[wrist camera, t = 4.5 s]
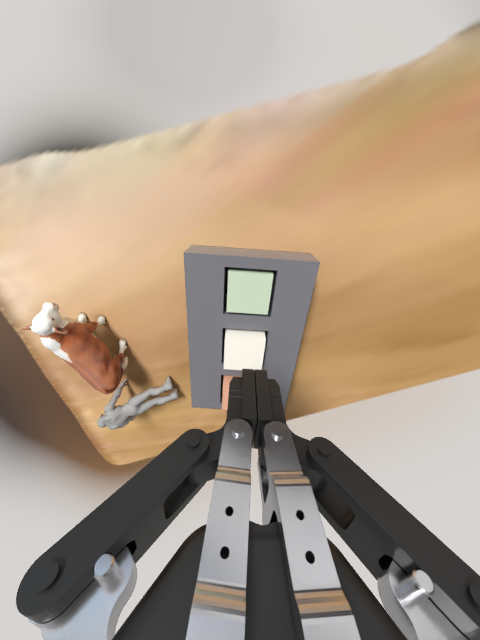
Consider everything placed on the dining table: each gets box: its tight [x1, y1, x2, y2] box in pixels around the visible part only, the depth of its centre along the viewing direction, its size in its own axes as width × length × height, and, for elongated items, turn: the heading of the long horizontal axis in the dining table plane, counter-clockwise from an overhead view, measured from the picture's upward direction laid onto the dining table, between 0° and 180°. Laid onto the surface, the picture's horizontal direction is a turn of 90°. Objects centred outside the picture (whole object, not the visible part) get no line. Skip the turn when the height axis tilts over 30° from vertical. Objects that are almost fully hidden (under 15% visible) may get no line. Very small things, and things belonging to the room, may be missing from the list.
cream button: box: [224, 328, 266, 370], centre depth 29 cm, size 5×5×3 cm
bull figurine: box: [22, 302, 128, 394], centre depth 29 cm, size 4×13×8 cm, turn 19°
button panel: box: [184, 245, 320, 411], centre depth 30 cm, size 14×23×4 cm, turn 176°
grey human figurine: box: [97, 376, 179, 430], centre depth 36 cm, size 6×5×12 cm
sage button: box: [226, 267, 274, 315], centre depth 26 cm, size 5×5×3 cm
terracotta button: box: [222, 375, 242, 410], centre depth 32 cm, size 5×5×3 cm
